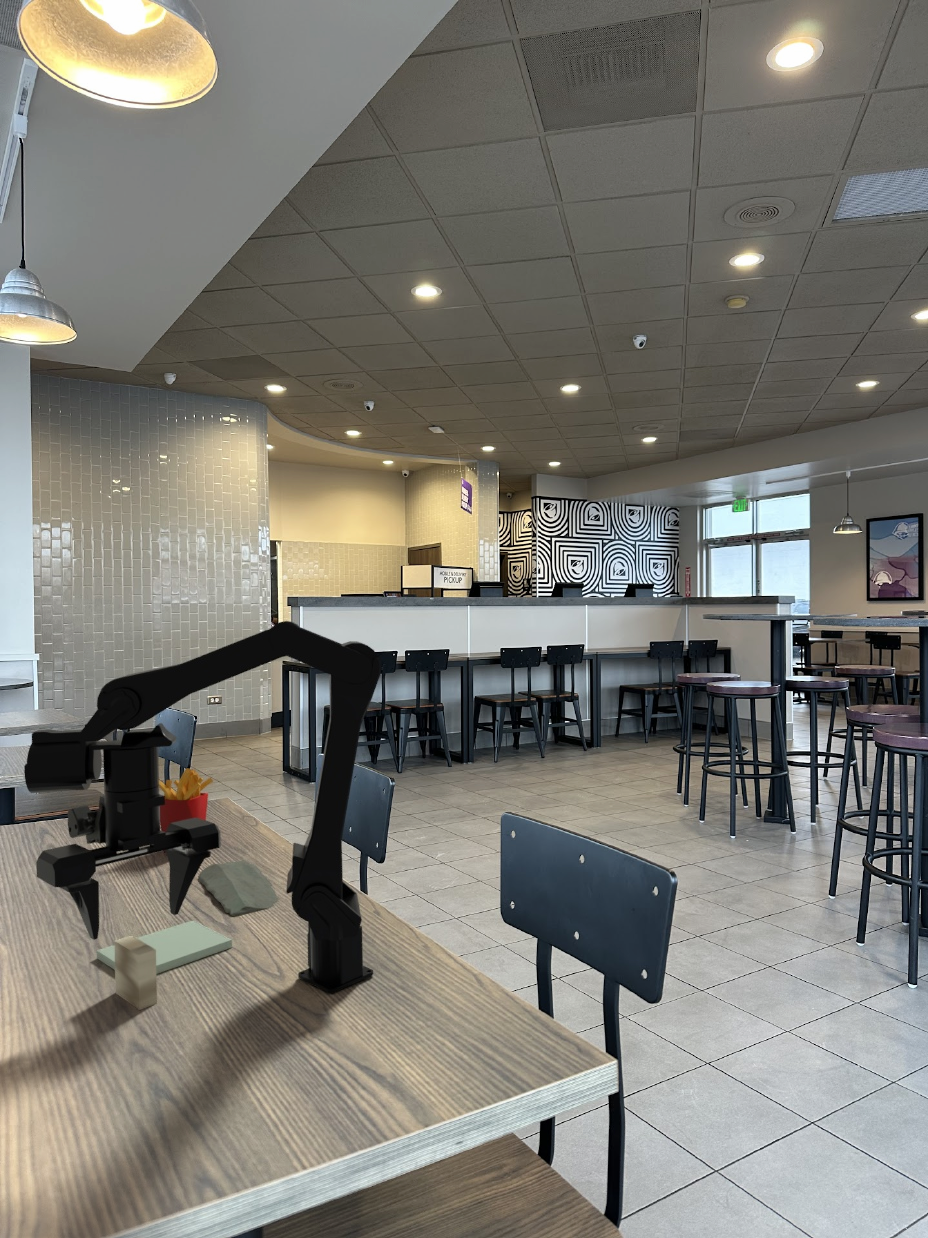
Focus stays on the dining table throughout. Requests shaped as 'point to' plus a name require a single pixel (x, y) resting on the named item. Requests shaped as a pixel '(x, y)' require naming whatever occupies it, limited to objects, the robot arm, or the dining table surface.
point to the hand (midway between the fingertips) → (135, 925)
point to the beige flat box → (135, 972)
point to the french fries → (183, 799)
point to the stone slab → (239, 887)
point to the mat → (176, 945)
